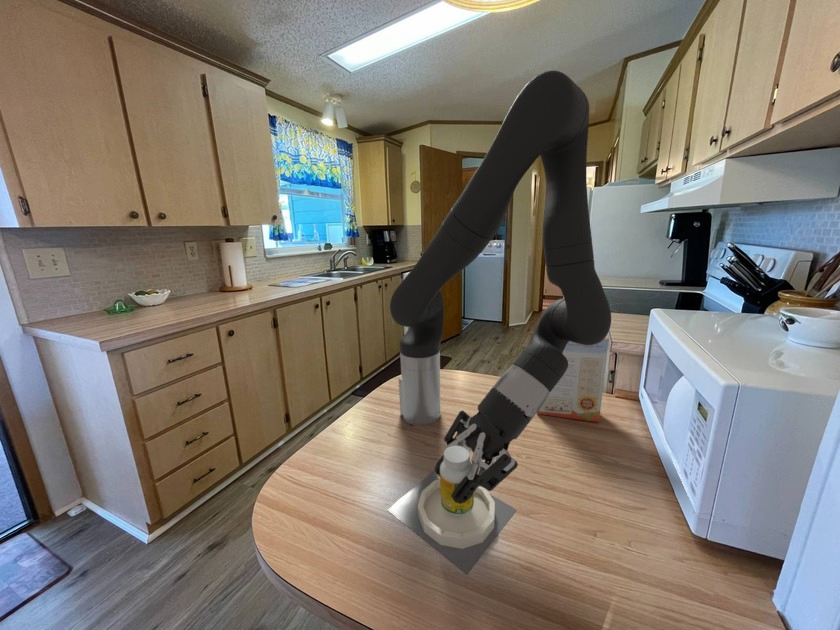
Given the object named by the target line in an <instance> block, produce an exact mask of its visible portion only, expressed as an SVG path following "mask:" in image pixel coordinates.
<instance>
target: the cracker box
mask: <svg viewBox="0 0 840 630" xmlns="http://www.w3.org/2000/svg"><path fill="white" fill-rule="evenodd" d="M609 340H610V339H609V336H608V335H607V336H606V337H605V338H604V339H603V340H602V341H601V342H599V343H597V344H594V345H582V344H578V343H575V342H571V341H569V342H568V343H567V345H566V347H565V349H564V351H563V353H562V354H563V355H564V356H565V357H566V358H567V360H568V368H567V370H566V372H565V374H564V375H563V376H562V378H561V379H560V380H559V382H558V383H557V384H556V385H555V387H554V388H553V389H552V391H551V392H550V393H549V395H548V396H547V398H546V400H545V402H544V403H543V405H542V406H541V408H540V409H539V410H538V412H537V413H536V415H537V414H538V415H542V414H543V415H544V416H549V415H550V416H551V417H558V418H564V419H571V420H579V421H587V422H593V423H599V422H600V418H601V407H602V400H603V392H604V382H605V374H606V366H607V359H608V349H609V342H610V341H609ZM543 415H542V416H543Z"/></svg>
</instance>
